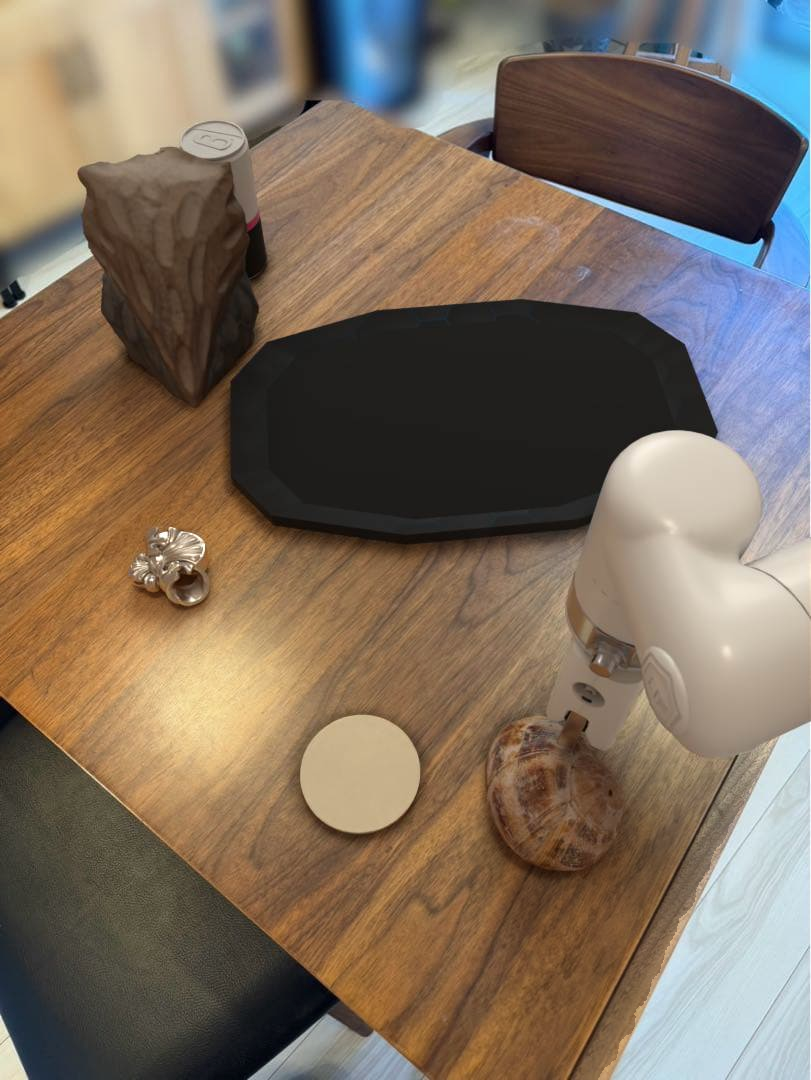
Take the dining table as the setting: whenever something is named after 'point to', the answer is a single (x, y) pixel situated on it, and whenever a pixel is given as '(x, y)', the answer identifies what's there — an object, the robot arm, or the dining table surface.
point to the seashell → (551, 796)
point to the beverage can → (232, 146)
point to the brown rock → (172, 265)
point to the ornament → (172, 565)
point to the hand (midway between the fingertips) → (580, 715)
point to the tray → (454, 418)
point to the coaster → (360, 774)
